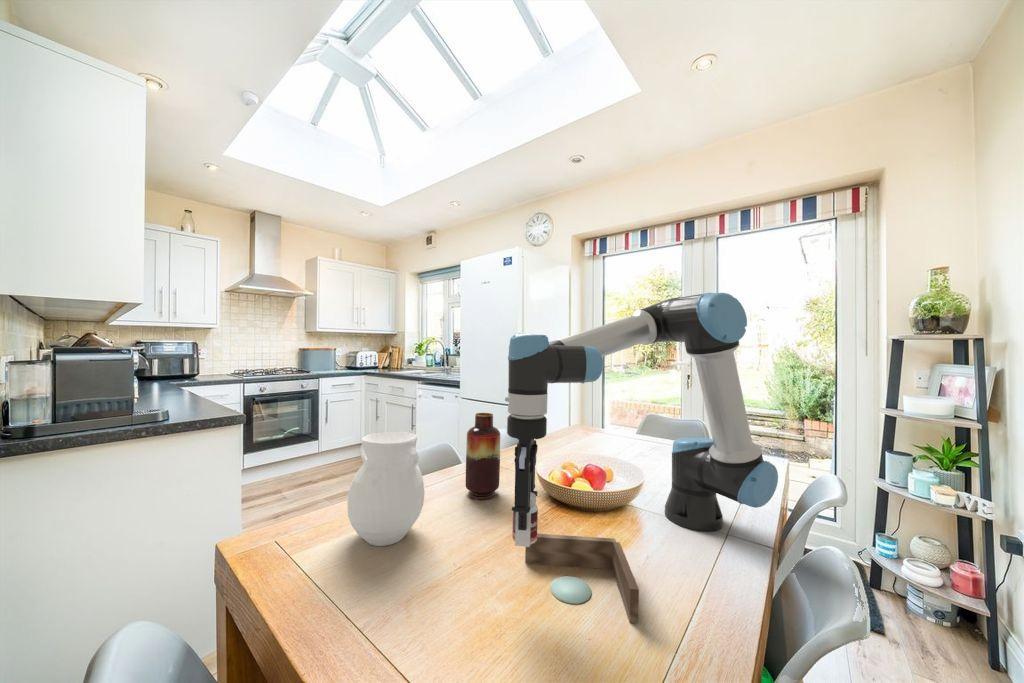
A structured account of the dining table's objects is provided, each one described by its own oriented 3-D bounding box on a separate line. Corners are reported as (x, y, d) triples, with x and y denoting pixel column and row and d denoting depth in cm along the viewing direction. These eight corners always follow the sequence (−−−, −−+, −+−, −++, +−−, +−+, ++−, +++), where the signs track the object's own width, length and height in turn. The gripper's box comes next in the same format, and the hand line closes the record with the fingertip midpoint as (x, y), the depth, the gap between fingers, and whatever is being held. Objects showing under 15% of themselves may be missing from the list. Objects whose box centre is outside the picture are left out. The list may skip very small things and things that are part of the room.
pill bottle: (517, 547, 68) (518, 501, 68) (509, 534, 72) (509, 491, 72) (541, 543, 69) (542, 498, 70) (531, 531, 74) (532, 489, 74)
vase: (505, 492, 123) (507, 413, 124) (485, 504, 114) (487, 419, 114) (478, 485, 129) (480, 410, 129) (457, 495, 120) (460, 414, 120)
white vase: (438, 528, 99) (440, 433, 99) (387, 564, 82) (391, 450, 82) (384, 513, 106) (387, 425, 107) (328, 543, 90) (331, 439, 90)
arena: (617, 565, 84) (618, 538, 84) (638, 623, 66) (638, 589, 66) (525, 559, 85) (526, 532, 85) (521, 614, 68) (522, 581, 68)
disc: (588, 579, 78) (588, 577, 78) (593, 605, 71) (593, 604, 71) (550, 576, 79) (550, 575, 79) (551, 602, 71) (551, 600, 71)
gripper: (514, 406, 81) (512, 514, 80) (498, 423, 63) (495, 562, 63) (549, 408, 79) (547, 518, 79) (543, 426, 62) (540, 567, 62)
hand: (524, 537), depth 71 cm, fingers closed on pill bottle, 5 cm apart
